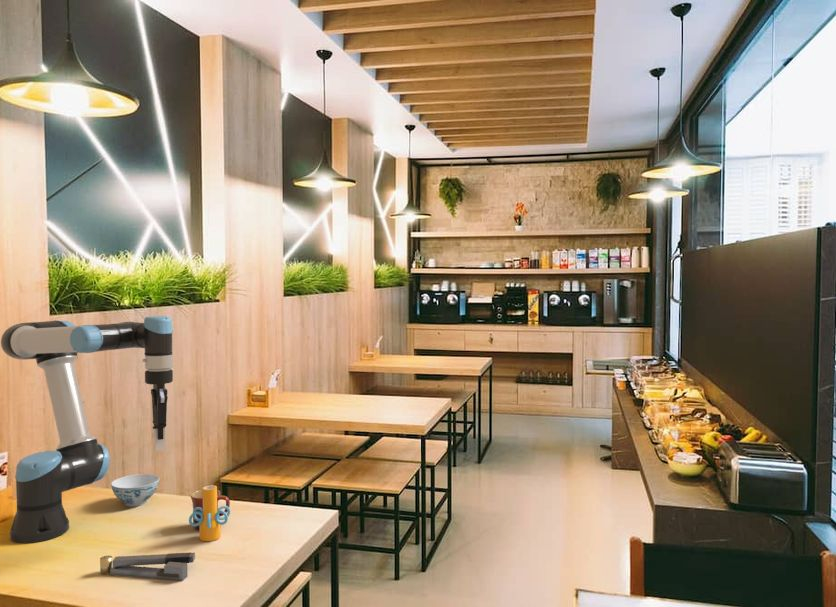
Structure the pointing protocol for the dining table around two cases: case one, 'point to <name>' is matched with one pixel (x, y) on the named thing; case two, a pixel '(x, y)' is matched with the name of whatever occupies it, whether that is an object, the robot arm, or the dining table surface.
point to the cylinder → (209, 515)
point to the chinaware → (135, 488)
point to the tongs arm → (153, 559)
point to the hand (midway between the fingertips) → (159, 449)
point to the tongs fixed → (145, 570)
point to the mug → (198, 502)
